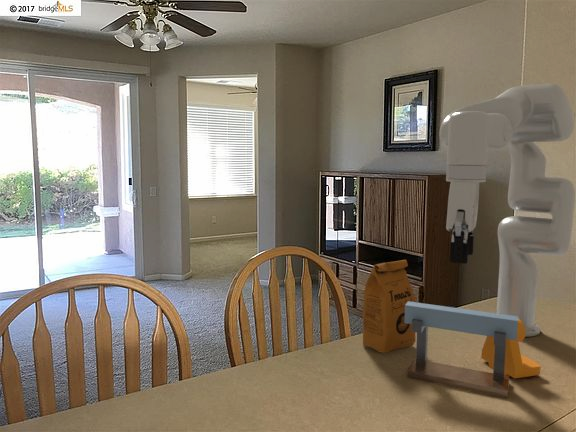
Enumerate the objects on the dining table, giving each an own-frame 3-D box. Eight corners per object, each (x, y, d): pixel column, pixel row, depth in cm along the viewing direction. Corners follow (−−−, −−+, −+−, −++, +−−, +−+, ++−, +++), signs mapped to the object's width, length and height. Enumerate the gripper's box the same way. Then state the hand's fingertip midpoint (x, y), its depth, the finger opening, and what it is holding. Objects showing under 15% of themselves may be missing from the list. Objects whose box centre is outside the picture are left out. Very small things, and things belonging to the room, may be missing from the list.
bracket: (542, 377, 104) (545, 324, 103) (514, 382, 102) (517, 328, 101) (506, 357, 115) (509, 309, 113) (481, 361, 113) (483, 312, 111)
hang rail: (407, 318, 106) (408, 301, 106) (517, 335, 96) (518, 316, 96) (404, 323, 104) (404, 305, 103) (516, 340, 94) (517, 320, 93)
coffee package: (421, 348, 120) (424, 262, 117) (382, 358, 114) (385, 268, 111) (394, 335, 129) (396, 255, 126) (357, 344, 123) (358, 260, 120)
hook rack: (414, 364, 111) (416, 301, 109) (508, 383, 102) (513, 314, 100) (405, 379, 103) (407, 312, 101) (507, 401, 94) (511, 327, 92)
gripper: (452, 173, 105) (449, 249, 107) (439, 175, 90) (435, 264, 92) (489, 173, 102) (485, 252, 104) (482, 176, 87) (477, 268, 89)
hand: (461, 258), depth 98 cm, fingers open, 9 cm apart
